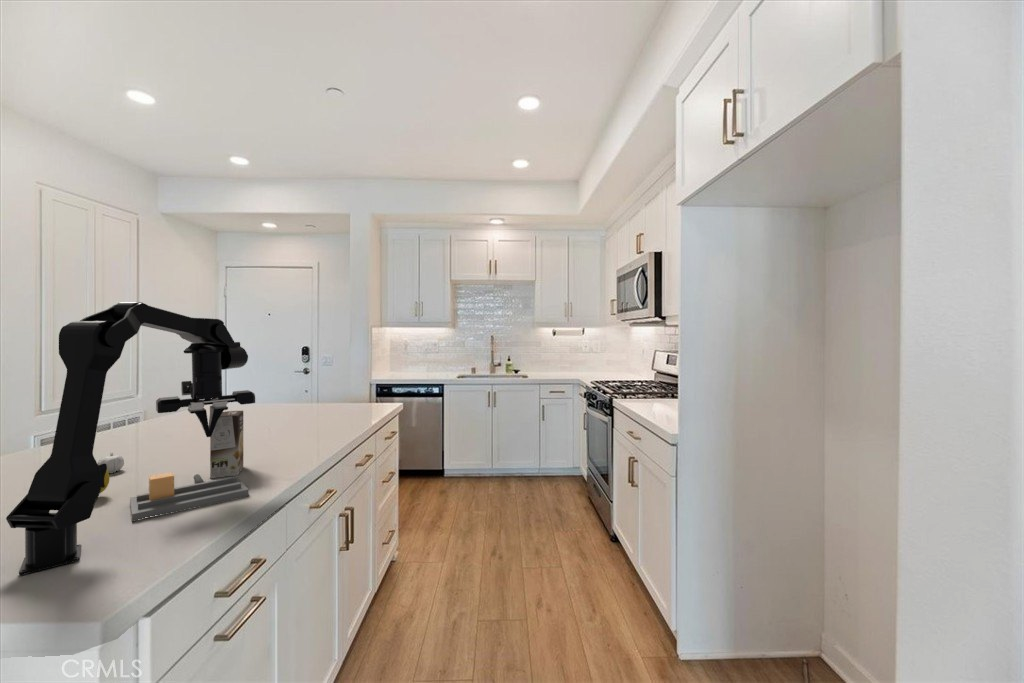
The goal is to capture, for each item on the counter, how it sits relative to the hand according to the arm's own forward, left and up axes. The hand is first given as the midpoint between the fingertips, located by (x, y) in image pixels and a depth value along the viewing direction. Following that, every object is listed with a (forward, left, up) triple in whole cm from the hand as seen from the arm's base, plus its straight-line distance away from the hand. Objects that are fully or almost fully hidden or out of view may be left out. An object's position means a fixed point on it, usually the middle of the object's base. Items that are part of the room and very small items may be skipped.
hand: (208, 436), depth 101 cm
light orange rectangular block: (-5, +9, -11) cm, 15 cm away
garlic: (+35, +17, -13) cm, 41 cm away
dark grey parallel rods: (+6, +4, -13) cm, 15 cm away
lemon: (+12, +20, -13) cm, 27 cm away
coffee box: (+13, -6, -13) cm, 20 cm away
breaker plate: (-5, +4, -13) cm, 14 cm away
